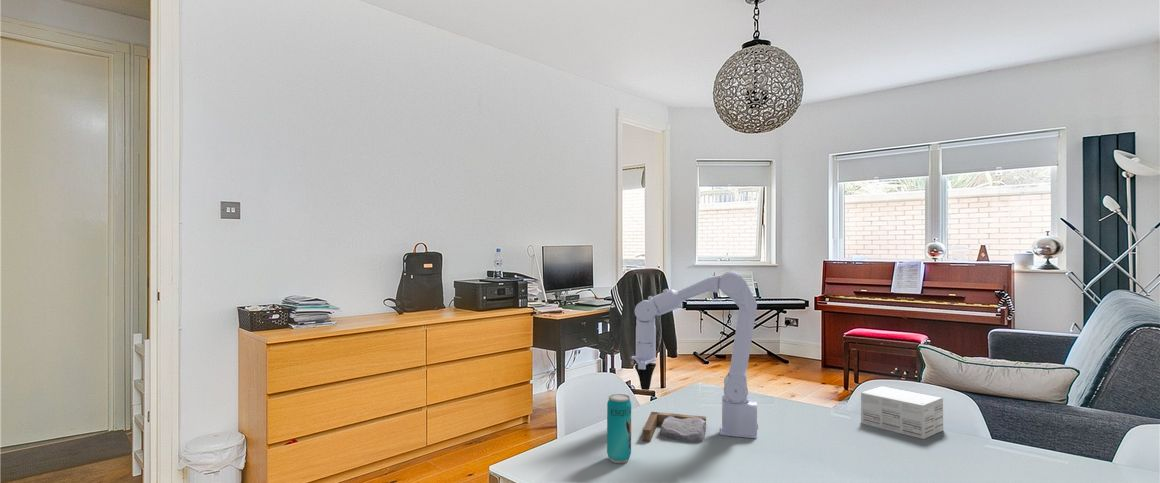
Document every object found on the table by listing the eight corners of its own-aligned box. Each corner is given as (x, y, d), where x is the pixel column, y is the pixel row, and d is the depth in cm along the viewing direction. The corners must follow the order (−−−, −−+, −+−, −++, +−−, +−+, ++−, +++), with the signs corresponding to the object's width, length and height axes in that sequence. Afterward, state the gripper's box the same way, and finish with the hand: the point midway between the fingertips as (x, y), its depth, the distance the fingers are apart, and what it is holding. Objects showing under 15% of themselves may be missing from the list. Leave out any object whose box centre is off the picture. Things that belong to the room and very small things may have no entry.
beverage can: (629, 465, 126) (630, 400, 126) (605, 463, 127) (605, 399, 127) (632, 456, 131) (632, 394, 132) (608, 454, 133) (609, 392, 133)
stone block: (704, 450, 141) (707, 430, 150) (703, 433, 140) (706, 414, 149) (658, 446, 144) (664, 427, 154) (657, 430, 143) (663, 411, 153)
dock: (706, 427, 153) (706, 416, 153) (703, 447, 138) (703, 435, 138) (651, 422, 157) (651, 411, 157) (642, 440, 142) (642, 429, 142)
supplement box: (944, 430, 152) (944, 397, 152) (924, 440, 144) (924, 405, 144) (881, 415, 166) (881, 384, 166) (860, 423, 158) (860, 391, 158)
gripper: (636, 337, 164) (635, 382, 164) (627, 345, 150) (627, 394, 150) (659, 338, 162) (659, 383, 162) (652, 347, 148) (652, 396, 148)
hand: (645, 389), depth 156 cm, fingers closed
